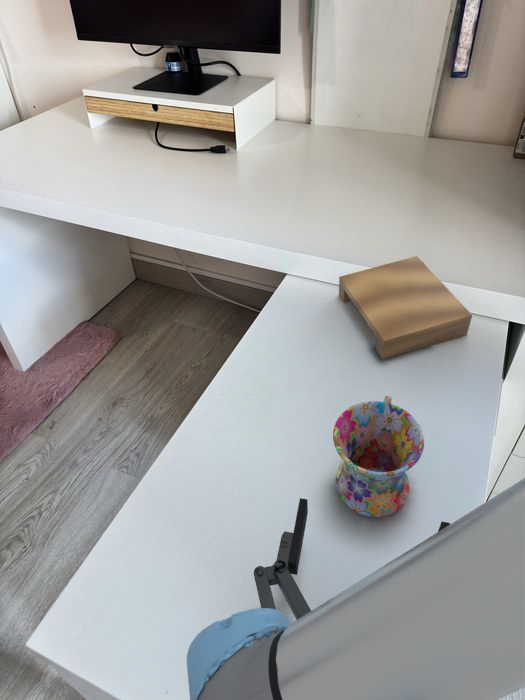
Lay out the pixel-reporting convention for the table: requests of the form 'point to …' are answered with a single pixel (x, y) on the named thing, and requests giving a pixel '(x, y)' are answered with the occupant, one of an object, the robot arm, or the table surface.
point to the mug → (376, 456)
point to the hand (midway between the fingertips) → (371, 515)
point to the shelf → (405, 306)
